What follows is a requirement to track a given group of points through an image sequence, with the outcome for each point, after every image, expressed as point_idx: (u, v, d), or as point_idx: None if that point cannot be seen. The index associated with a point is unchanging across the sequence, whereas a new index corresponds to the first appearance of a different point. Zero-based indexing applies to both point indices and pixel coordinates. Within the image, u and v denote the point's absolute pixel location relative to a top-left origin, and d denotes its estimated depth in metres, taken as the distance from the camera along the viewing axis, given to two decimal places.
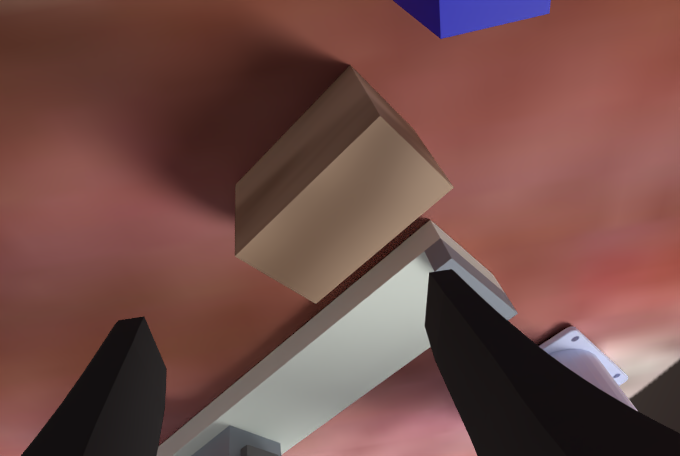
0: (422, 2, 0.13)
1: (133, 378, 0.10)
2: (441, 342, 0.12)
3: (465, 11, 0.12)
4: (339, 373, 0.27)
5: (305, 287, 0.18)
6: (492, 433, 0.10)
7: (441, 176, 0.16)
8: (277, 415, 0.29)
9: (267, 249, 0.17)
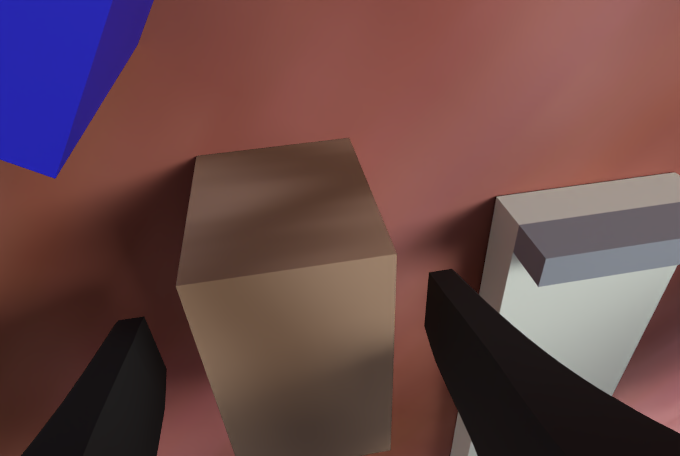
0: None
1: (133, 378, 0.10)
2: (441, 342, 0.12)
3: (18, 112, 0.05)
4: None
5: (356, 448, 0.13)
6: (492, 433, 0.10)
7: (359, 259, 0.09)
8: None
9: (264, 455, 0.12)
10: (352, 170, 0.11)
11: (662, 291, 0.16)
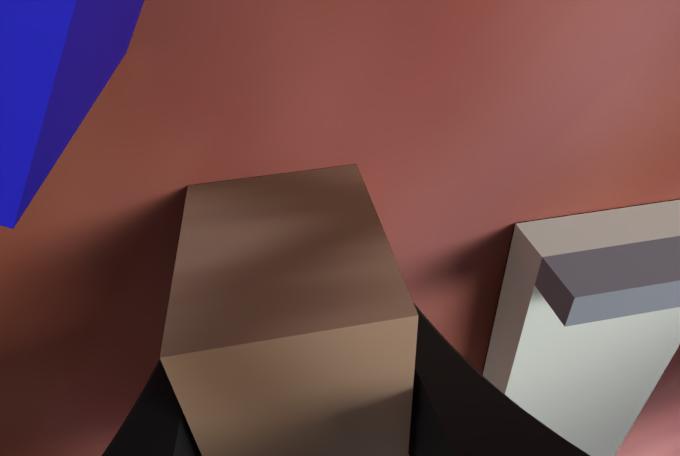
0: None
1: None
2: None
3: None
4: (566, 438, 0.19)
5: None
6: (420, 447, 0.10)
7: (375, 322, 0.07)
8: None
9: None
10: (362, 206, 0.10)
11: None
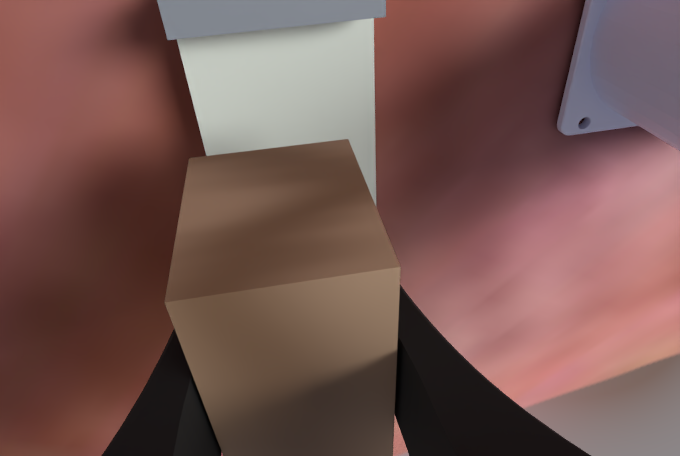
0: None
1: None
2: None
3: None
4: None
5: None
6: (420, 447, 0.10)
7: (361, 272, 0.08)
8: None
9: None
10: (352, 175, 0.11)
11: (374, 96, 0.16)
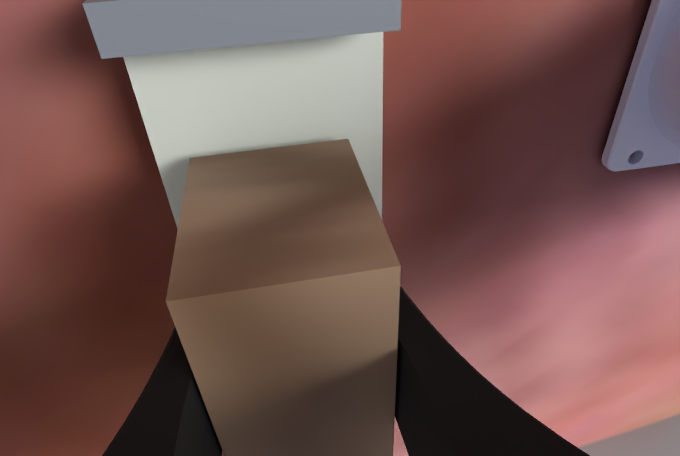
0: None
1: None
2: None
3: None
4: None
5: None
6: (420, 447, 0.10)
7: (361, 271, 0.08)
8: None
9: None
10: (352, 175, 0.11)
11: (382, 127, 0.13)
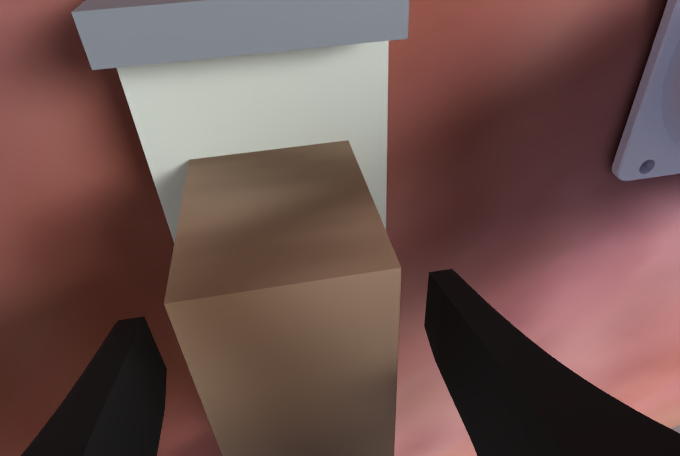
0: None
1: (133, 378, 0.10)
2: (441, 342, 0.12)
3: None
4: None
5: None
6: (492, 433, 0.10)
7: (361, 273, 0.08)
8: None
9: None
10: (352, 176, 0.11)
11: (386, 138, 0.12)
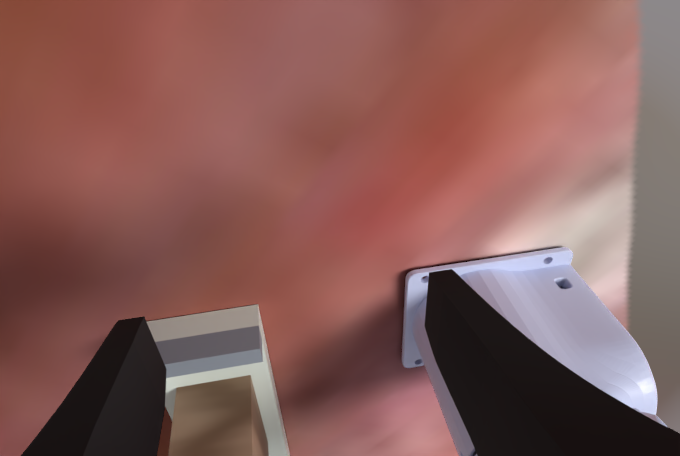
0: None
1: (133, 378, 0.10)
2: (441, 342, 0.12)
3: None
4: None
5: None
6: (492, 433, 0.10)
7: None
8: None
9: None
10: (246, 404, 0.25)
11: (269, 372, 0.26)
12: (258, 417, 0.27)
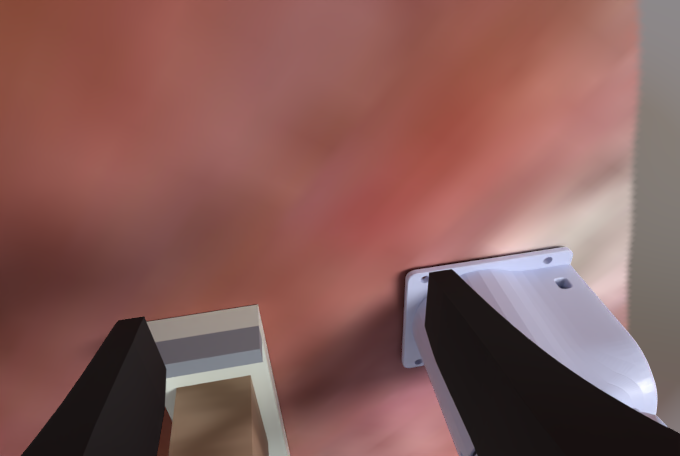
0: None
1: (133, 378, 0.10)
2: (441, 342, 0.12)
3: None
4: None
5: None
6: (492, 433, 0.10)
7: None
8: None
9: None
10: (246, 404, 0.25)
11: (269, 372, 0.26)
12: (258, 417, 0.27)
